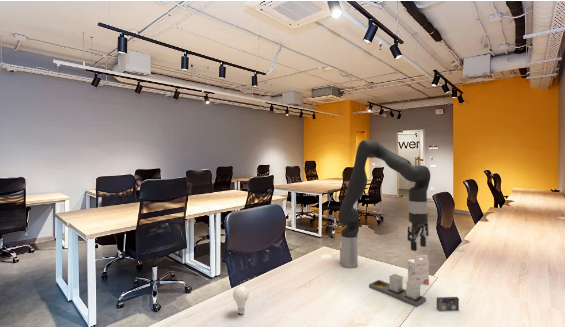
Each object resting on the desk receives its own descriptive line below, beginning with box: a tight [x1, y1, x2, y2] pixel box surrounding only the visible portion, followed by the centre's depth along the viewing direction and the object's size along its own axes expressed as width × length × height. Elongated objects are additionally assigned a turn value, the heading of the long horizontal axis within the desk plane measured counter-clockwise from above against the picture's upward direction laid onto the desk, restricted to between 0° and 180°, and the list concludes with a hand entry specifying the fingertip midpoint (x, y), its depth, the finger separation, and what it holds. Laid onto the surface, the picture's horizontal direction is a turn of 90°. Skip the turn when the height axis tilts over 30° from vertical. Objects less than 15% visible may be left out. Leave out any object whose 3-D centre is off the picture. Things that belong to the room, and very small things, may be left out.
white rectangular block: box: [405, 280, 421, 302], centre depth 120 cm, size 4×4×8 cm
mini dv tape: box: [436, 296, 460, 312], centre depth 113 cm, size 8×2×6 cm, turn 92°
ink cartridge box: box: [407, 254, 430, 286], centre depth 138 cm, size 9×5×15 cm, turn 105°
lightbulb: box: [232, 285, 250, 315], centre depth 113 cm, size 6×6×11 cm
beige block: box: [388, 273, 404, 295], centre depth 126 cm, size 4×4×8 cm
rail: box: [368, 279, 427, 308], centre depth 126 cm, size 23×8×2 cm, turn 37°
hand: (418, 248), depth 122 cm, fingers open, 8 cm apart
